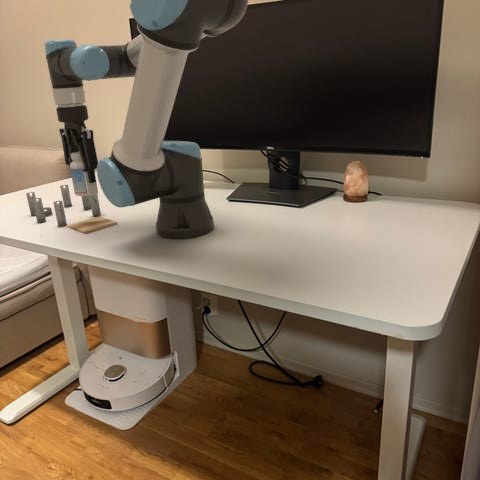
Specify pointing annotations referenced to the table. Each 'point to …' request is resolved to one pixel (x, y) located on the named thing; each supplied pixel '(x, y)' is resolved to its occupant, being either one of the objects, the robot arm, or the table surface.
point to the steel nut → (48, 211)
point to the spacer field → (61, 206)
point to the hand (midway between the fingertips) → (86, 192)
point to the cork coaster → (92, 225)
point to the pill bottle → (78, 175)
